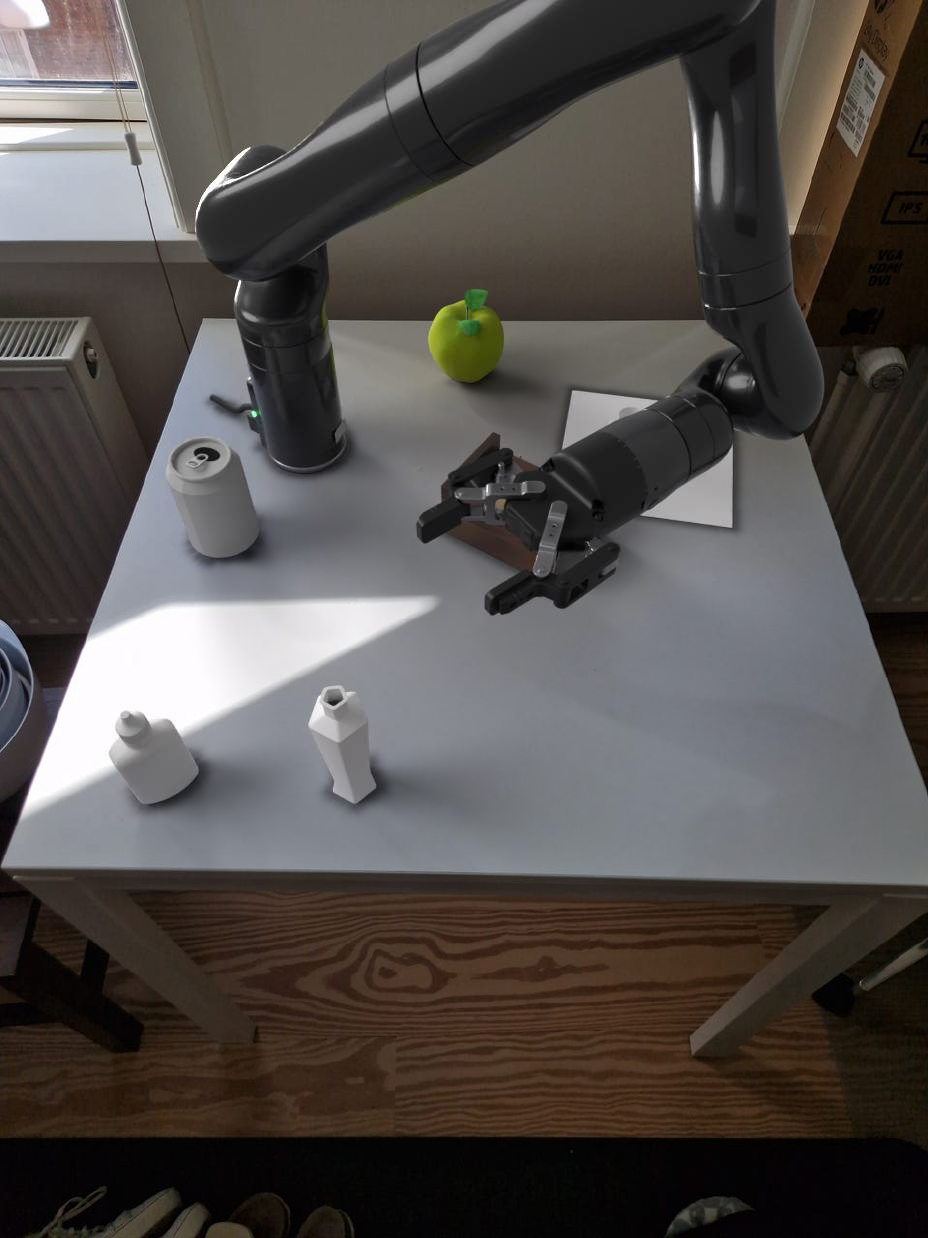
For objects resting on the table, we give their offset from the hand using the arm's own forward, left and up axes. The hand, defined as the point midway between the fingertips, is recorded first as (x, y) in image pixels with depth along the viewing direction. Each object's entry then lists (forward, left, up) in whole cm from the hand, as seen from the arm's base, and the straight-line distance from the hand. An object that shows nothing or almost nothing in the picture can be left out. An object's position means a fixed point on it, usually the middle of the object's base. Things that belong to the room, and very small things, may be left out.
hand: (452, 568), depth 62 cm
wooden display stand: (-7, +24, -22) cm, 33 cm away
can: (-33, +5, -22) cm, 41 cm away
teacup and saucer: (-1, +42, -22) cm, 48 cm away
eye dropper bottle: (-18, -20, -22) cm, 35 cm away
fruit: (-27, +43, -22) cm, 55 cm away
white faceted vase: (-3, -10, -22) cm, 25 cm away
